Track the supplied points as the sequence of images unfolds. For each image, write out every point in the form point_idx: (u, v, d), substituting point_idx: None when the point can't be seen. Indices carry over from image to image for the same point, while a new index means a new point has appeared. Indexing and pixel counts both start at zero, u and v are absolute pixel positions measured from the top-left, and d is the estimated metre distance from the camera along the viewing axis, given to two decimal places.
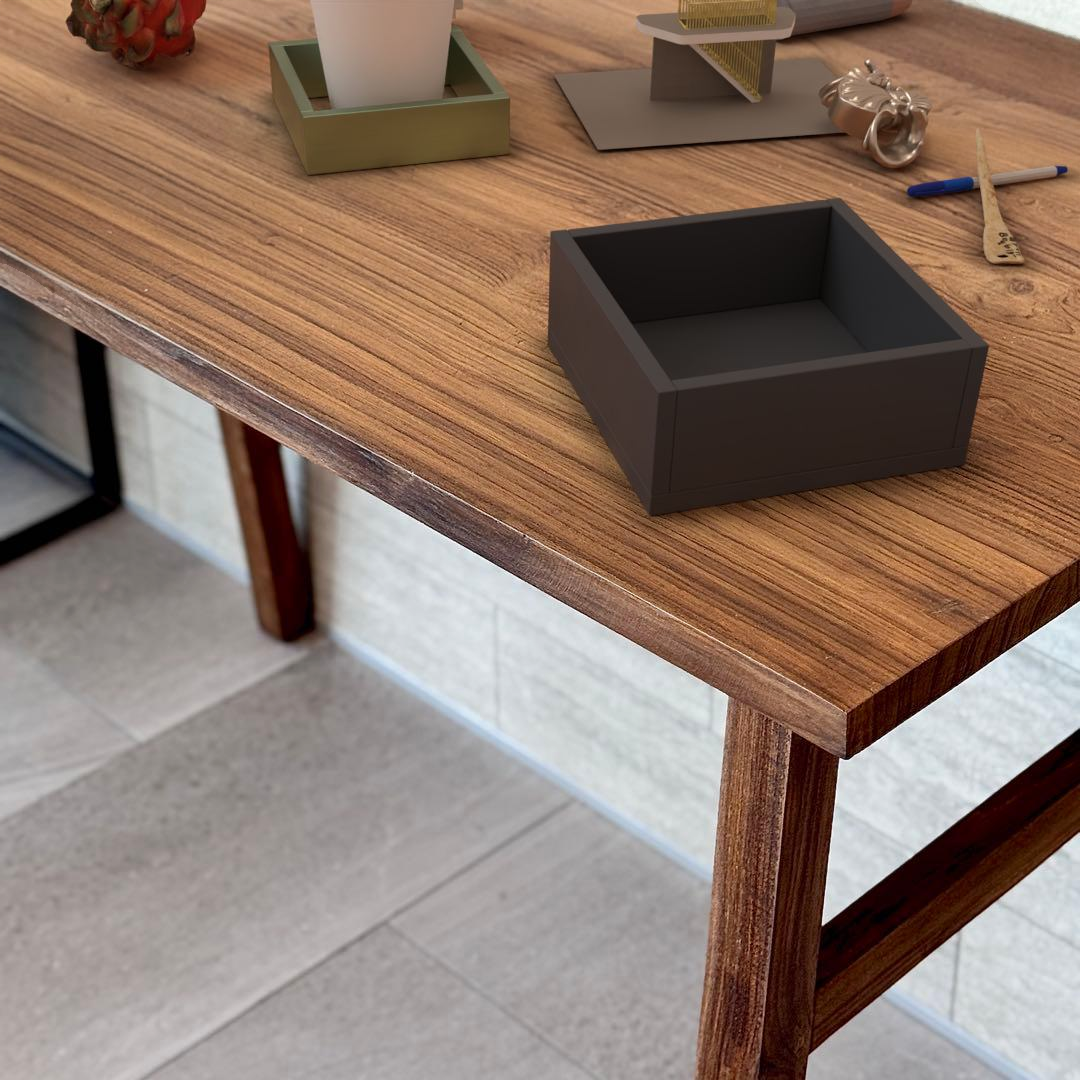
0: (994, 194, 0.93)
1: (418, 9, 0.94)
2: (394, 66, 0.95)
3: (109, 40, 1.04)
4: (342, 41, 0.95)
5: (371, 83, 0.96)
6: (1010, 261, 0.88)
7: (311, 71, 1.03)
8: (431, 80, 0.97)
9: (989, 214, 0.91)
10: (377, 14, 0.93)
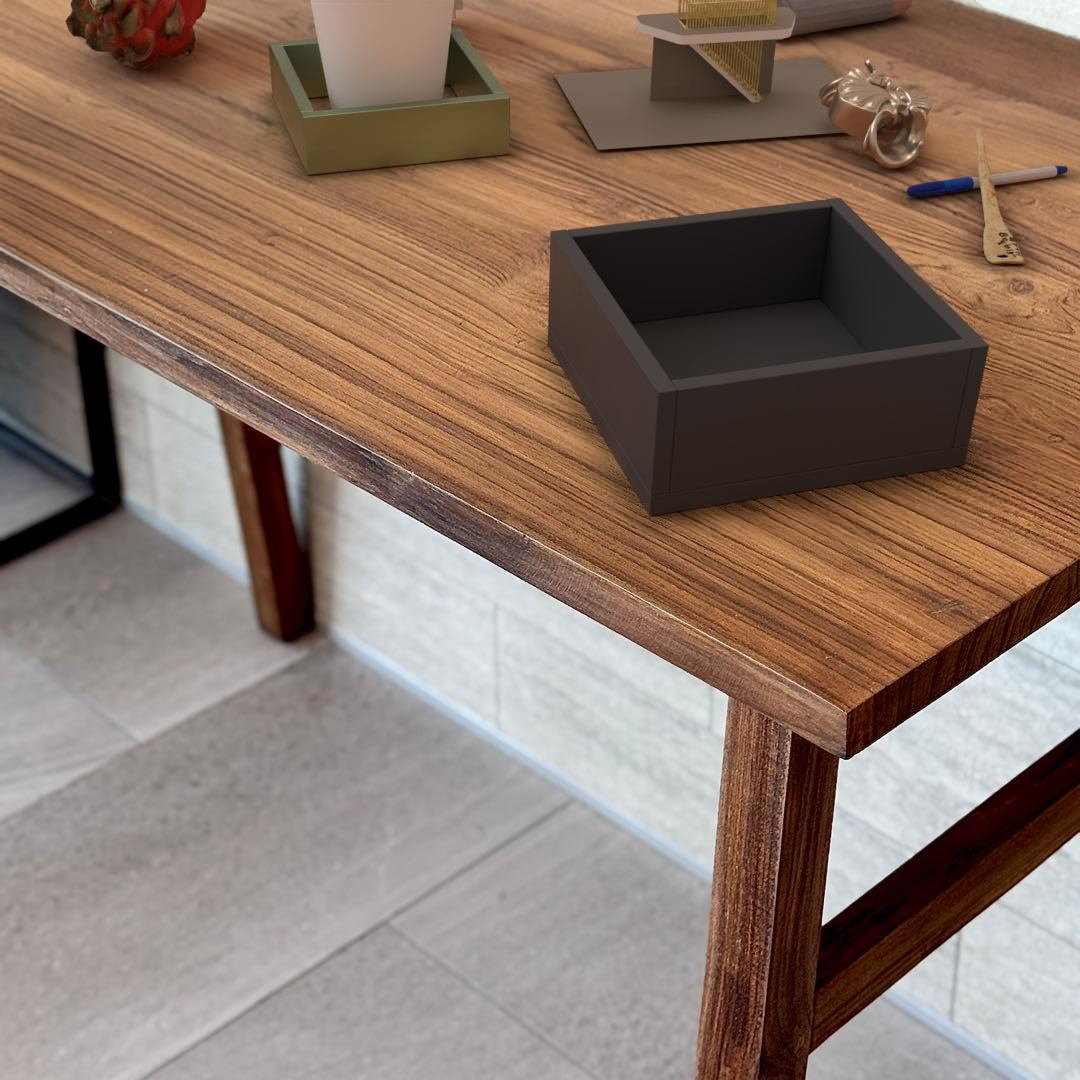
0: (994, 194, 0.93)
1: (418, 9, 0.93)
2: (394, 66, 0.95)
3: (109, 40, 1.04)
4: (342, 41, 0.95)
5: (371, 83, 0.96)
6: (1010, 261, 0.88)
7: (311, 71, 1.03)
8: (431, 80, 0.97)
9: (989, 214, 0.91)
10: (377, 14, 0.93)
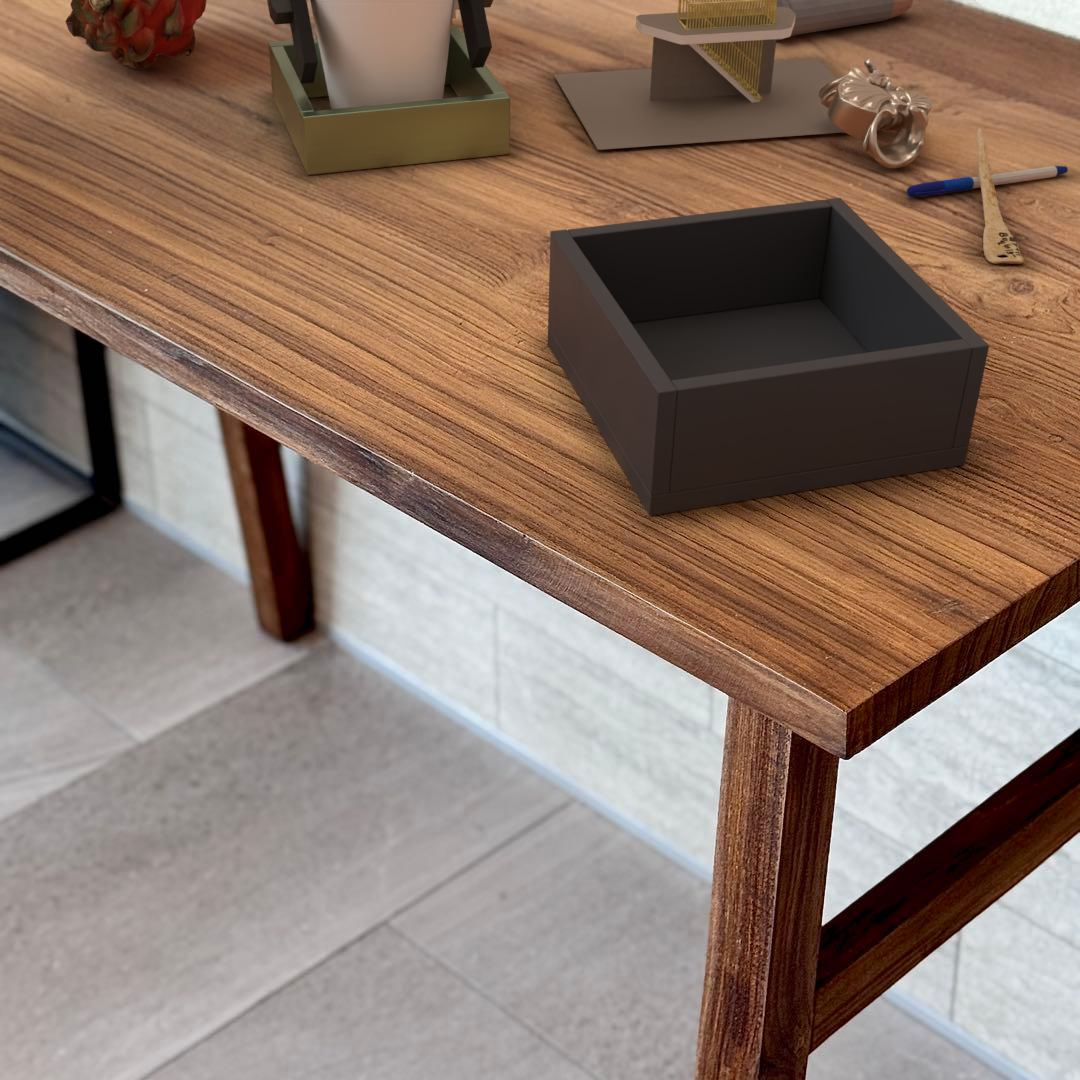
0: (995, 194, 0.93)
1: (418, 9, 0.93)
2: (394, 66, 0.95)
3: (109, 40, 1.04)
4: (342, 41, 0.95)
5: (371, 83, 0.96)
6: (1010, 261, 0.88)
7: None
8: (431, 80, 0.97)
9: (989, 214, 0.91)
10: (377, 14, 0.93)
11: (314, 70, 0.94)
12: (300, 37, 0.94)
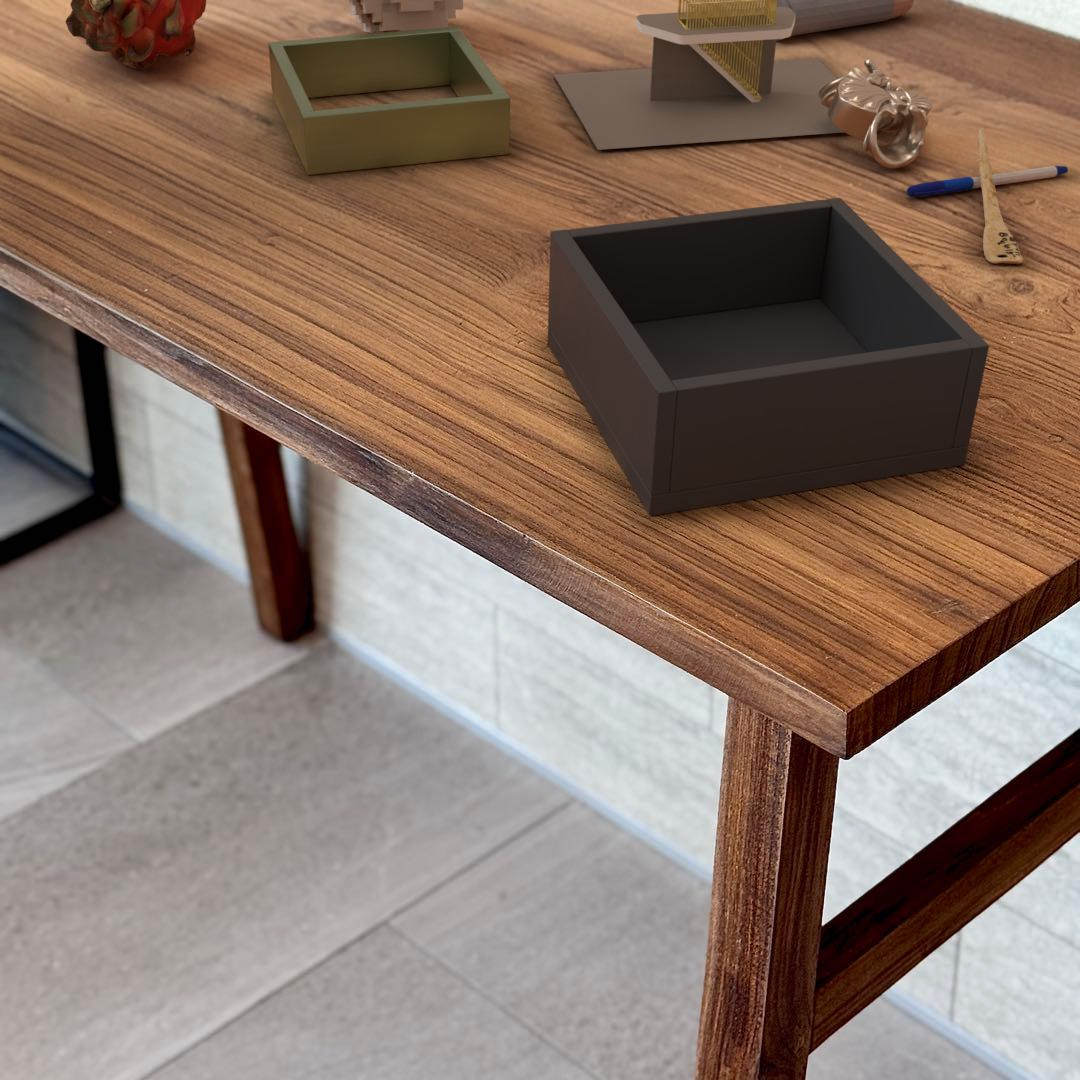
0: (995, 194, 0.93)
1: None
2: None
3: (109, 40, 1.04)
4: None
5: None
6: (1009, 261, 0.88)
7: (311, 71, 1.03)
8: None
9: (989, 214, 0.91)
10: None
11: None
12: None
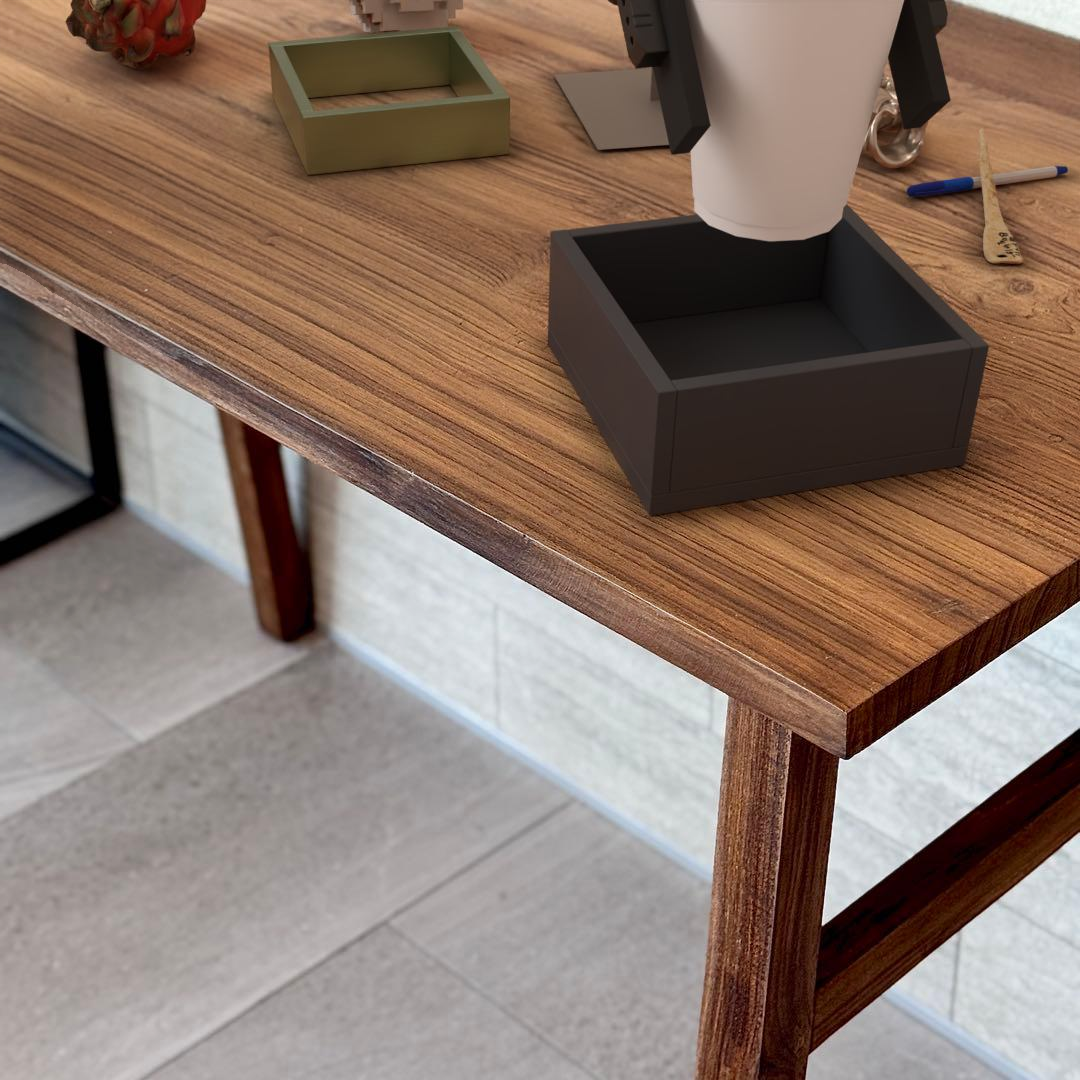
0: (995, 194, 0.93)
1: (859, 47, 0.63)
2: (812, 129, 0.65)
3: (109, 40, 1.04)
4: (739, 93, 0.64)
5: (774, 154, 0.66)
6: (1009, 261, 0.88)
7: (311, 71, 1.03)
8: (853, 147, 0.67)
9: (990, 214, 0.91)
10: (802, 55, 0.63)
11: (698, 137, 0.64)
12: (684, 88, 0.63)
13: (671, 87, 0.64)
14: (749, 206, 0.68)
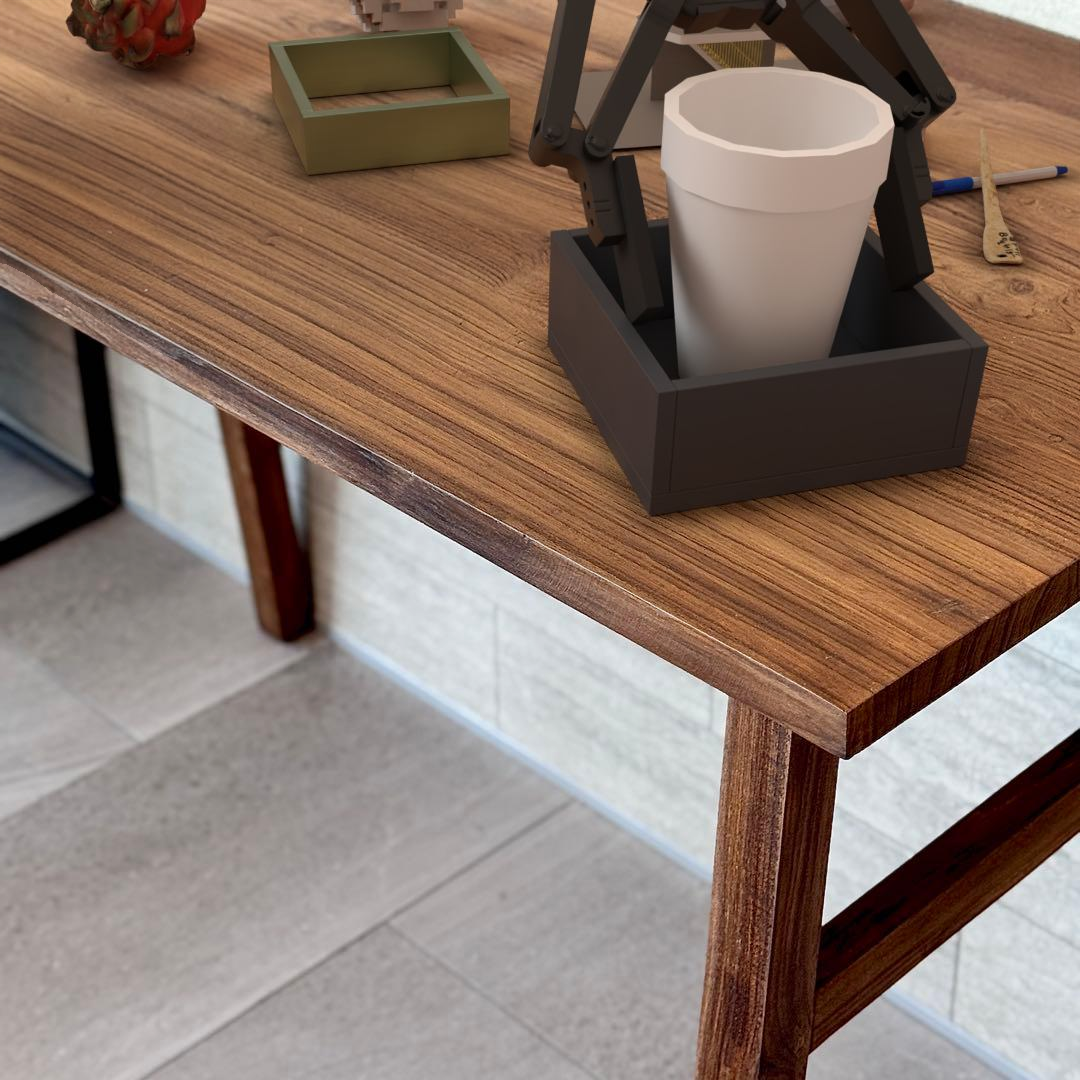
0: (996, 194, 0.93)
1: (831, 253, 0.68)
2: (788, 325, 0.70)
3: (109, 40, 1.04)
4: (720, 293, 0.70)
5: (753, 345, 0.71)
6: (1009, 260, 0.88)
7: (311, 71, 1.03)
8: (827, 336, 0.72)
9: (990, 214, 0.91)
10: (778, 262, 0.68)
11: (653, 314, 0.69)
12: (640, 272, 0.68)
13: (628, 267, 0.69)
14: None
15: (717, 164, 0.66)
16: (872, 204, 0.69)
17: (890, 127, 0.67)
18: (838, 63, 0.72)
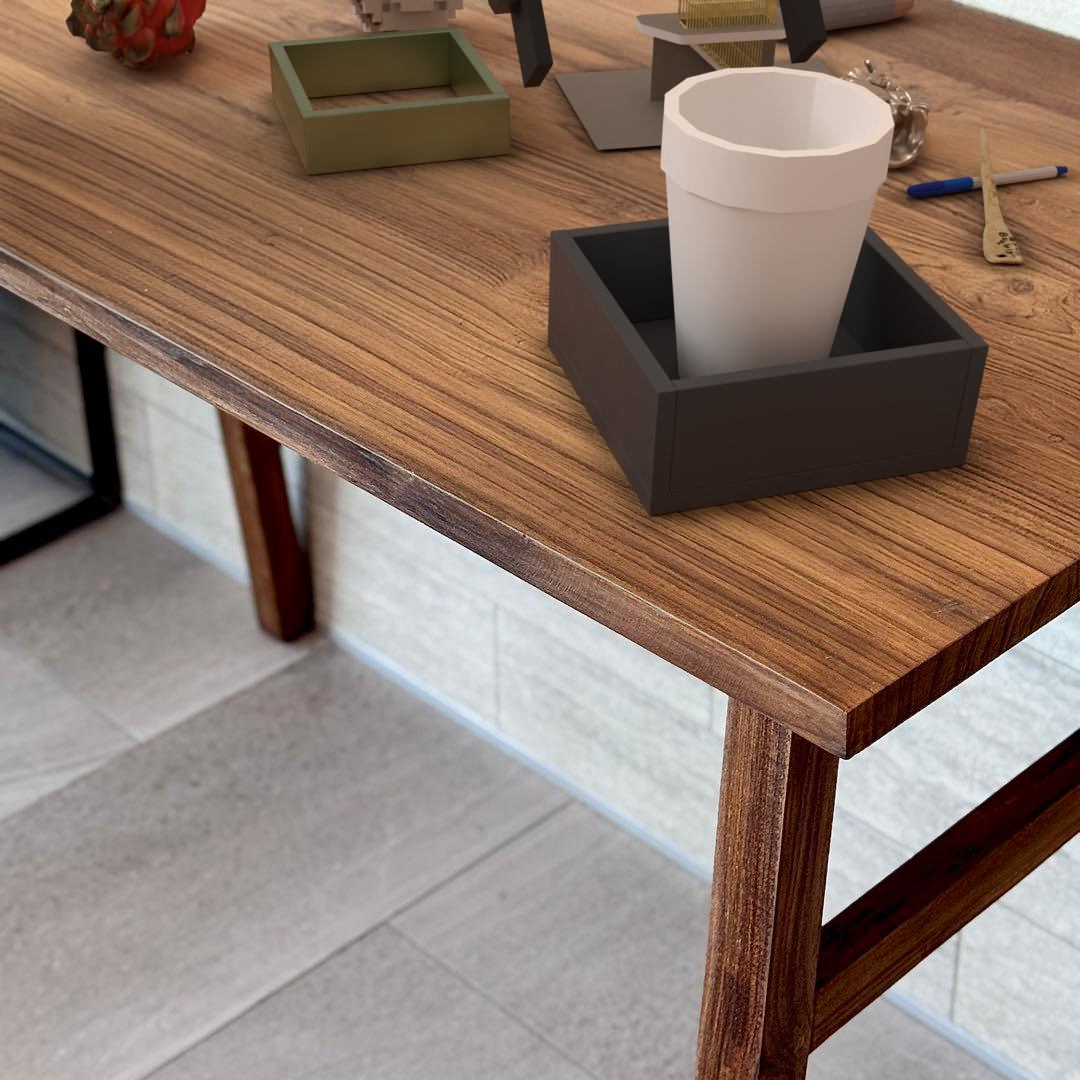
0: (996, 194, 0.93)
1: (831, 253, 0.68)
2: (788, 325, 0.70)
3: (109, 40, 1.04)
4: (720, 293, 0.70)
5: (753, 345, 0.71)
6: (1009, 260, 0.88)
7: (311, 71, 1.03)
8: (827, 336, 0.72)
9: (990, 214, 0.91)
10: (778, 262, 0.68)
11: (545, 73, 0.77)
12: (532, 32, 0.76)
13: (523, 31, 0.77)
14: None
15: (717, 164, 0.66)
16: (872, 204, 0.69)
17: (890, 127, 0.67)
18: None
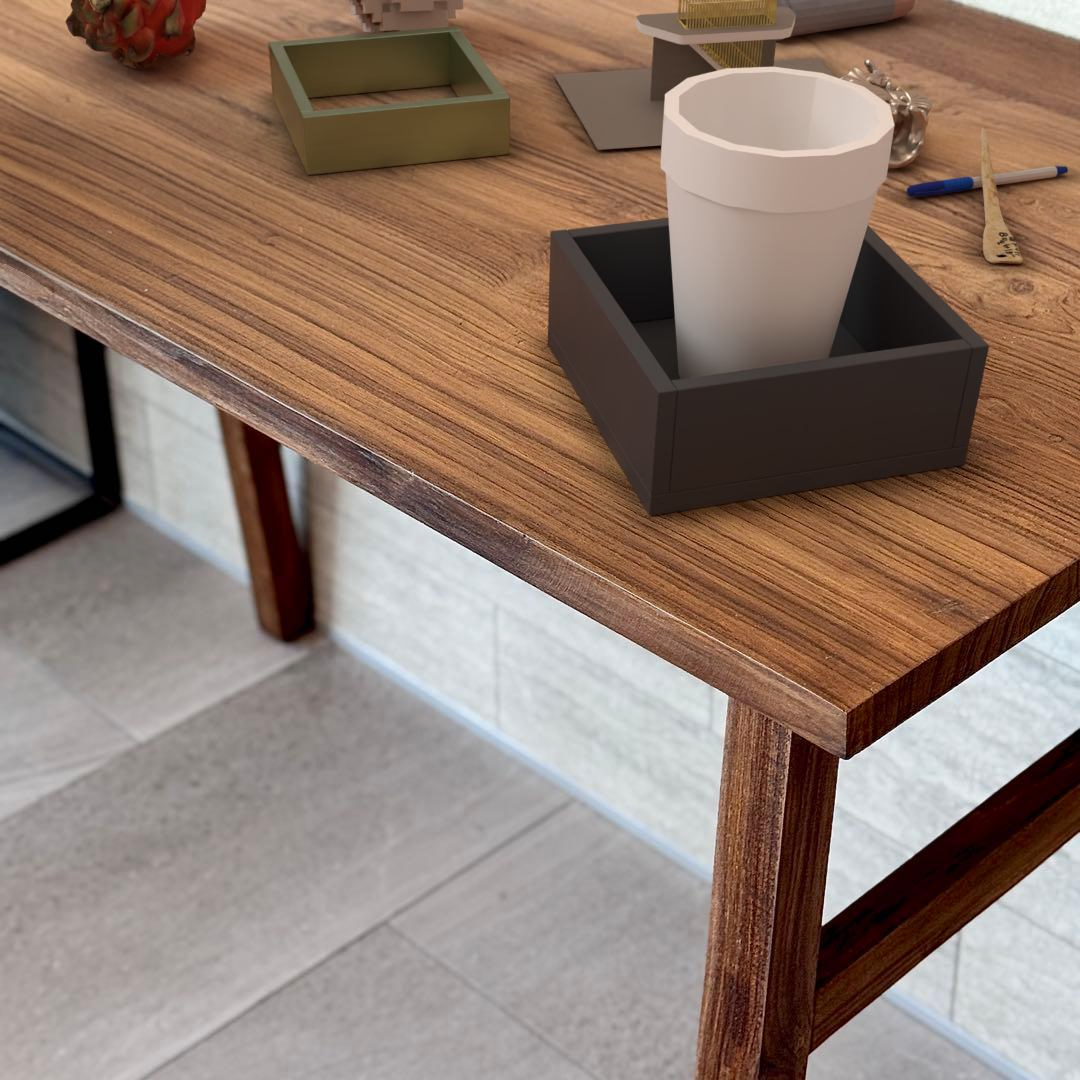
0: (996, 194, 0.93)
1: (831, 253, 0.68)
2: (788, 325, 0.70)
3: (109, 40, 1.04)
4: (720, 293, 0.70)
5: (753, 345, 0.71)
6: (1009, 260, 0.88)
7: (311, 71, 1.03)
8: (827, 336, 0.72)
9: (990, 214, 0.91)
10: (778, 262, 0.68)
11: None
12: None
13: None
14: None
15: (717, 164, 0.66)
16: (872, 204, 0.69)
17: (890, 127, 0.67)
18: None
